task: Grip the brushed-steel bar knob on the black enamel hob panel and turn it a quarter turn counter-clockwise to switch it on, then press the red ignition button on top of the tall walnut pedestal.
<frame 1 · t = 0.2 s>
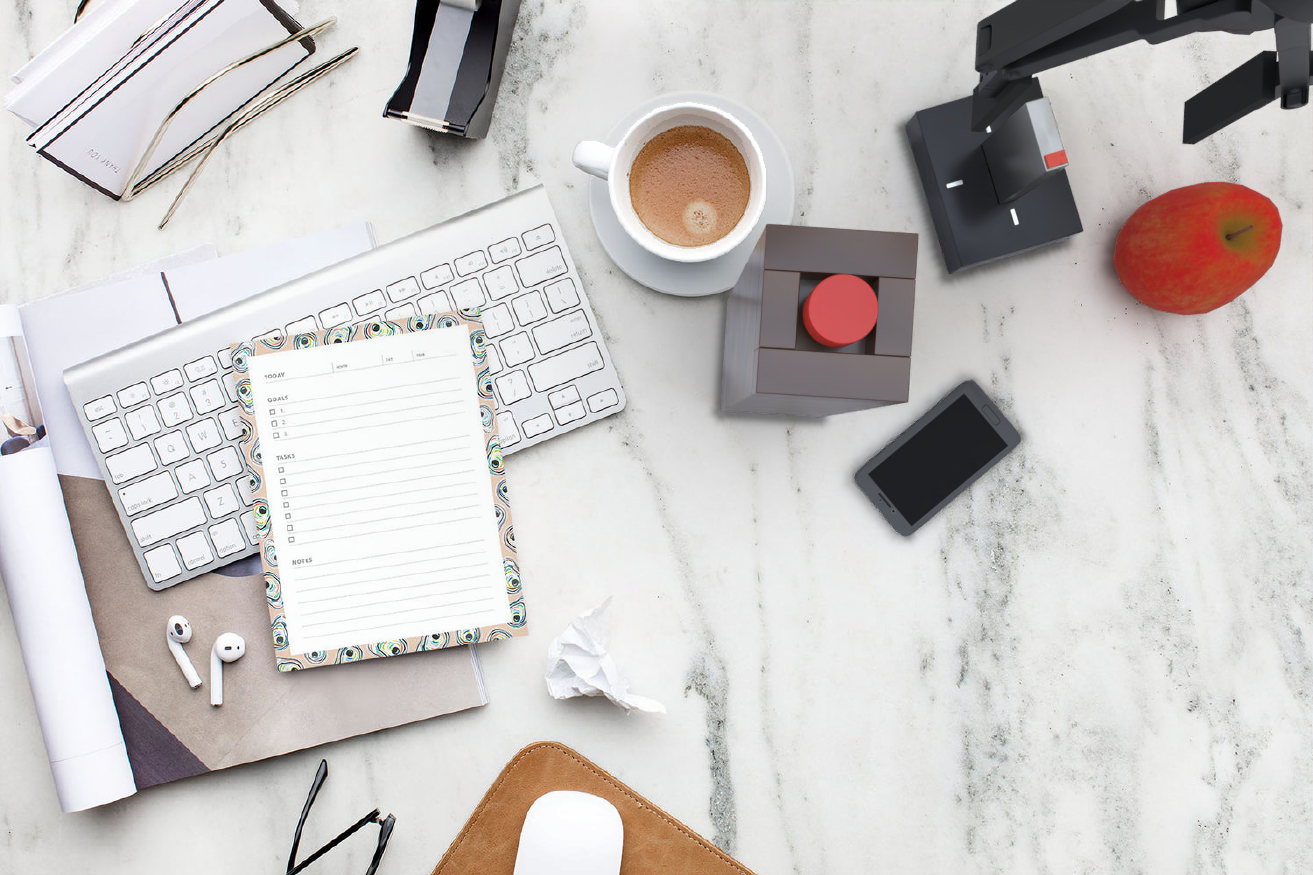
hand: (1083, 117, 50), 20 cm above the table, tool pointing down, fingers open, 13 cm apart
hob panel: (985, 183, 70), on the table
stove knob: (1023, 153, 63), point 7 cm above the table, hinge at 0.0°
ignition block: (773, 358, 70), on the table
ignition button: (839, 311, 45), point 25 cm above the table, slide at 0.3 cm
cell phone: (935, 458, 70), on the table
apple: (1157, 261, 70), on the table
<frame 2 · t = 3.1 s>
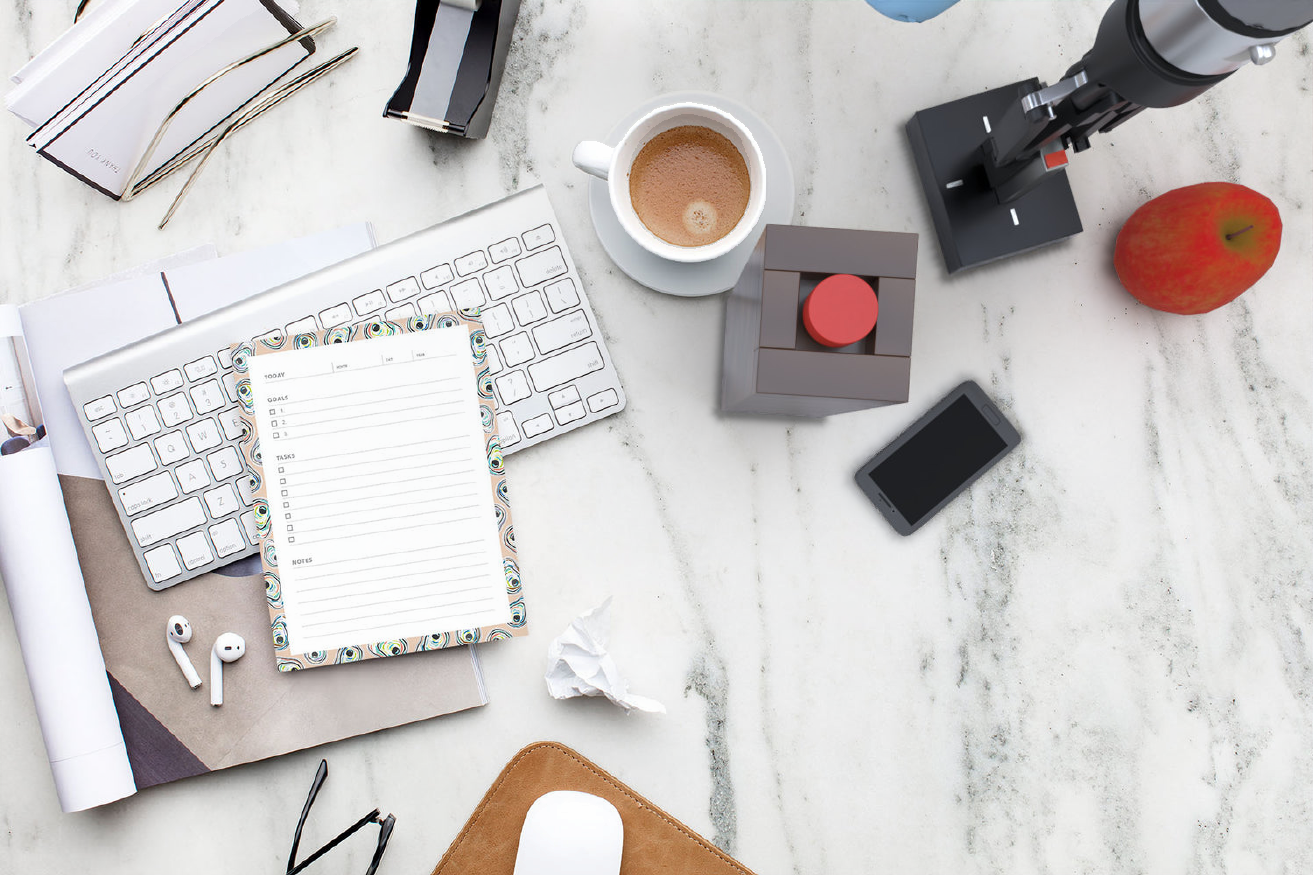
hand: (1005, 167, 66), 4 cm above the table, tool pointing down, fingers closed on stove knob, 2 cm apart
stove knob: (1023, 153, 63), point 7 cm above the table, hinge at 0.3°, touching gripper
everything else where it was.
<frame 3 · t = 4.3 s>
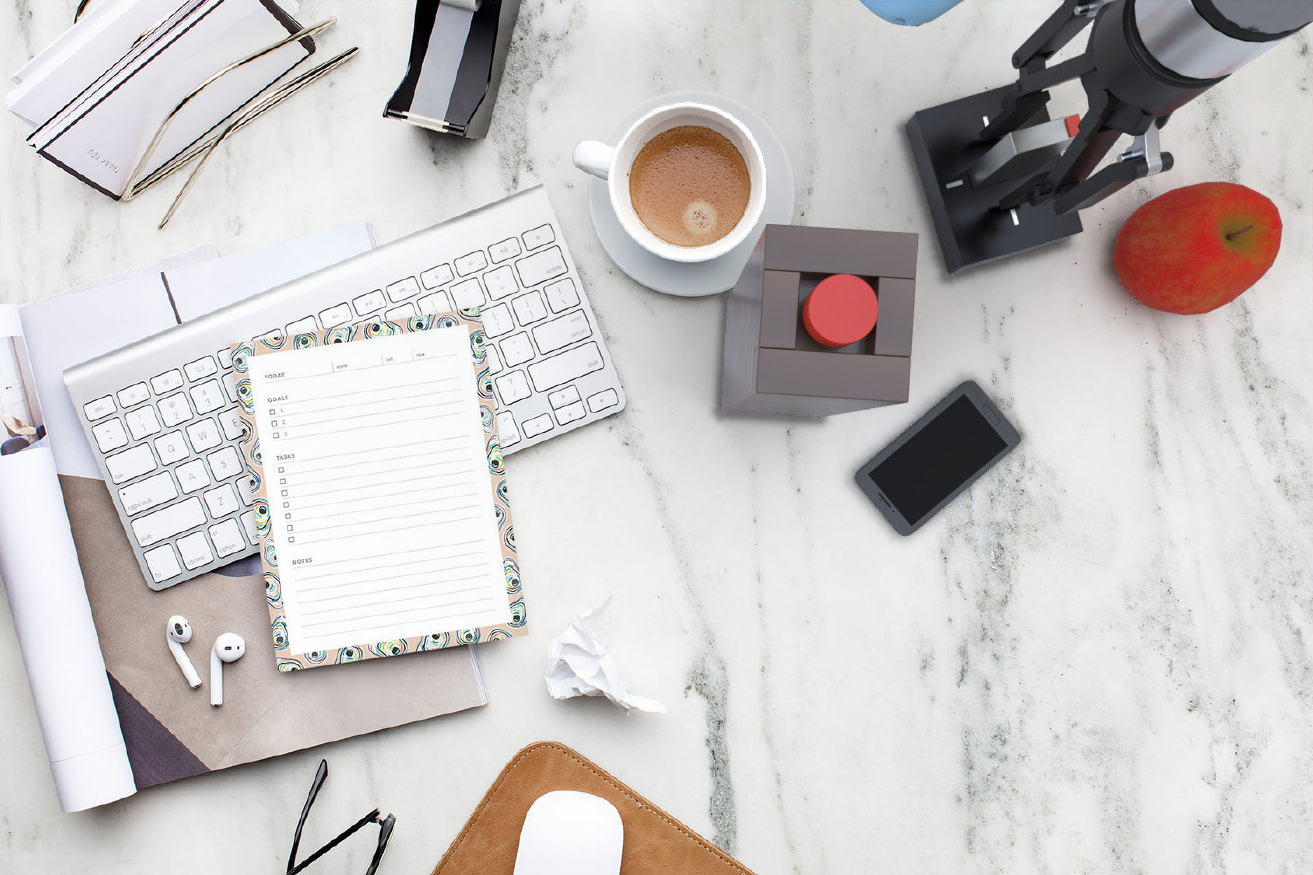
hand: (1005, 167, 66), 4 cm above the table, tool pointing down, fingers open, 5 cm apart
stove knob: (1023, 153, 63), point 7 cm above the table, hinge at 89.3°
everything else where it was.
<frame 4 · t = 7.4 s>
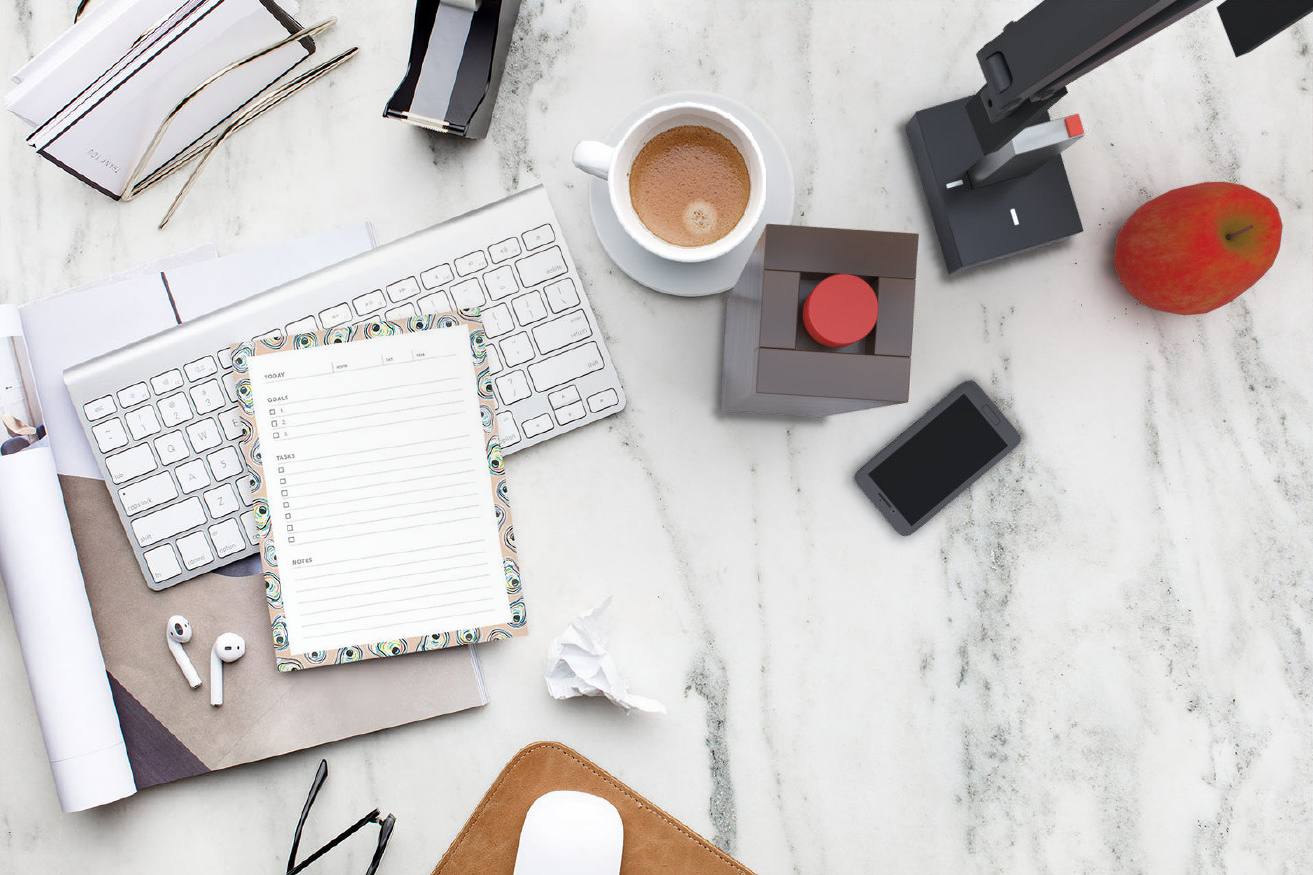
hand: (1106, 79, 39), 31 cm above the table, tool pointing down, fingers open, 13 cm apart
nothing on the table moved.
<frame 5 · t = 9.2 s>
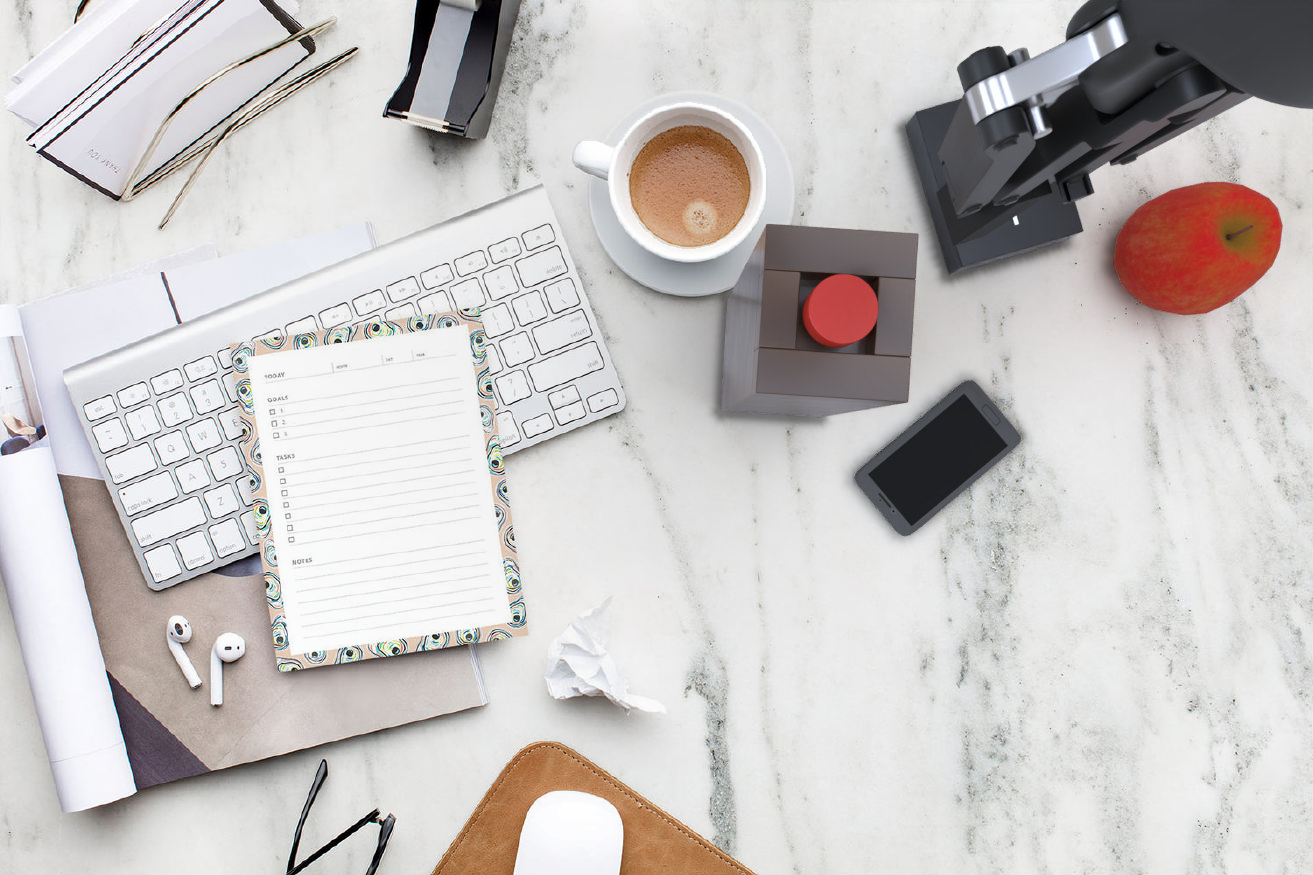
hand: (959, 214, 37), 33 cm above the table, tool pointing down, fingers closed
nothing on the table moved.
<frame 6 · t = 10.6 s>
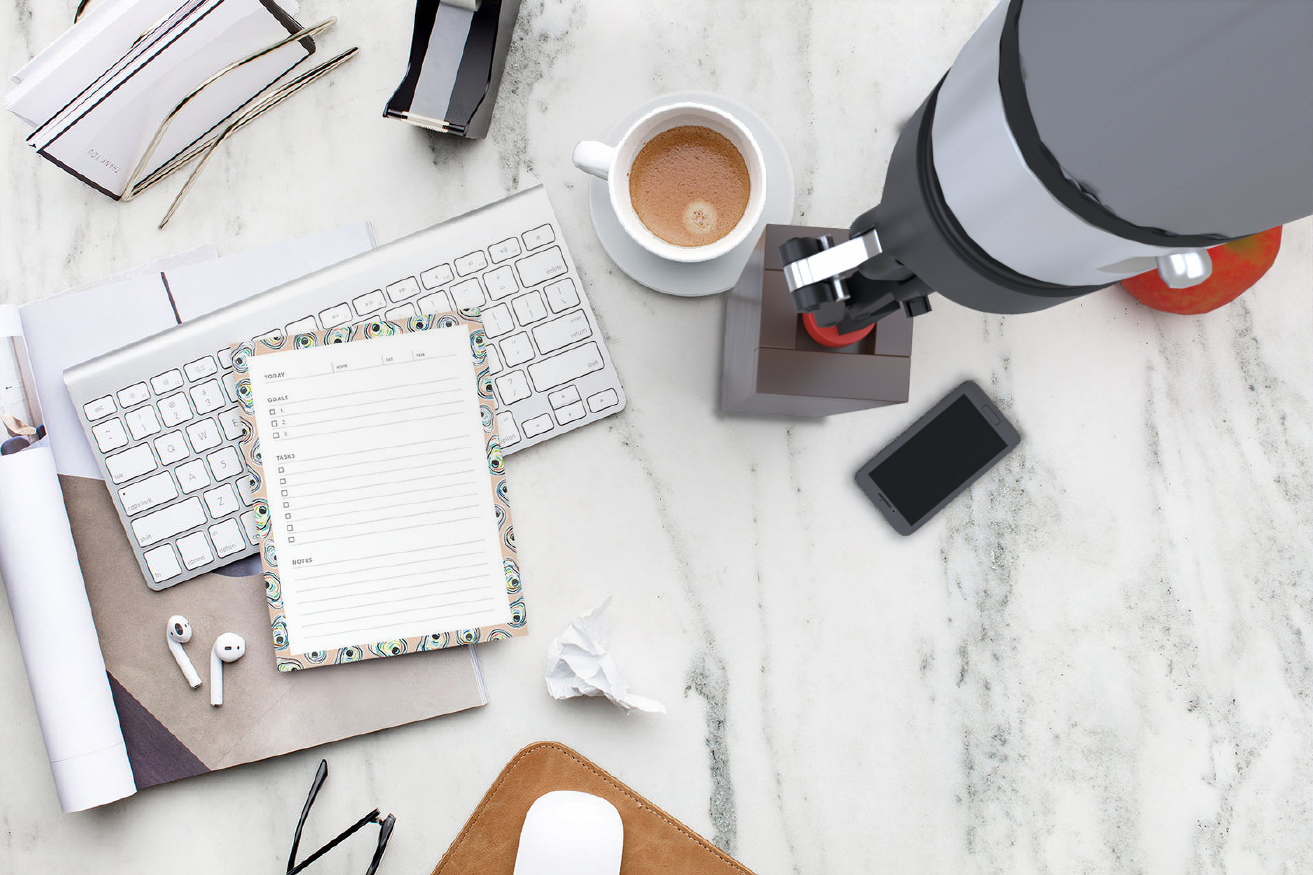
hand: (844, 309, 44), 26 cm above the table, tool pointing down, fingers closed
ignition button: (839, 311, 45), point 25 cm above the table, slide at 0.2 cm, touching gripper
everything else where it was.
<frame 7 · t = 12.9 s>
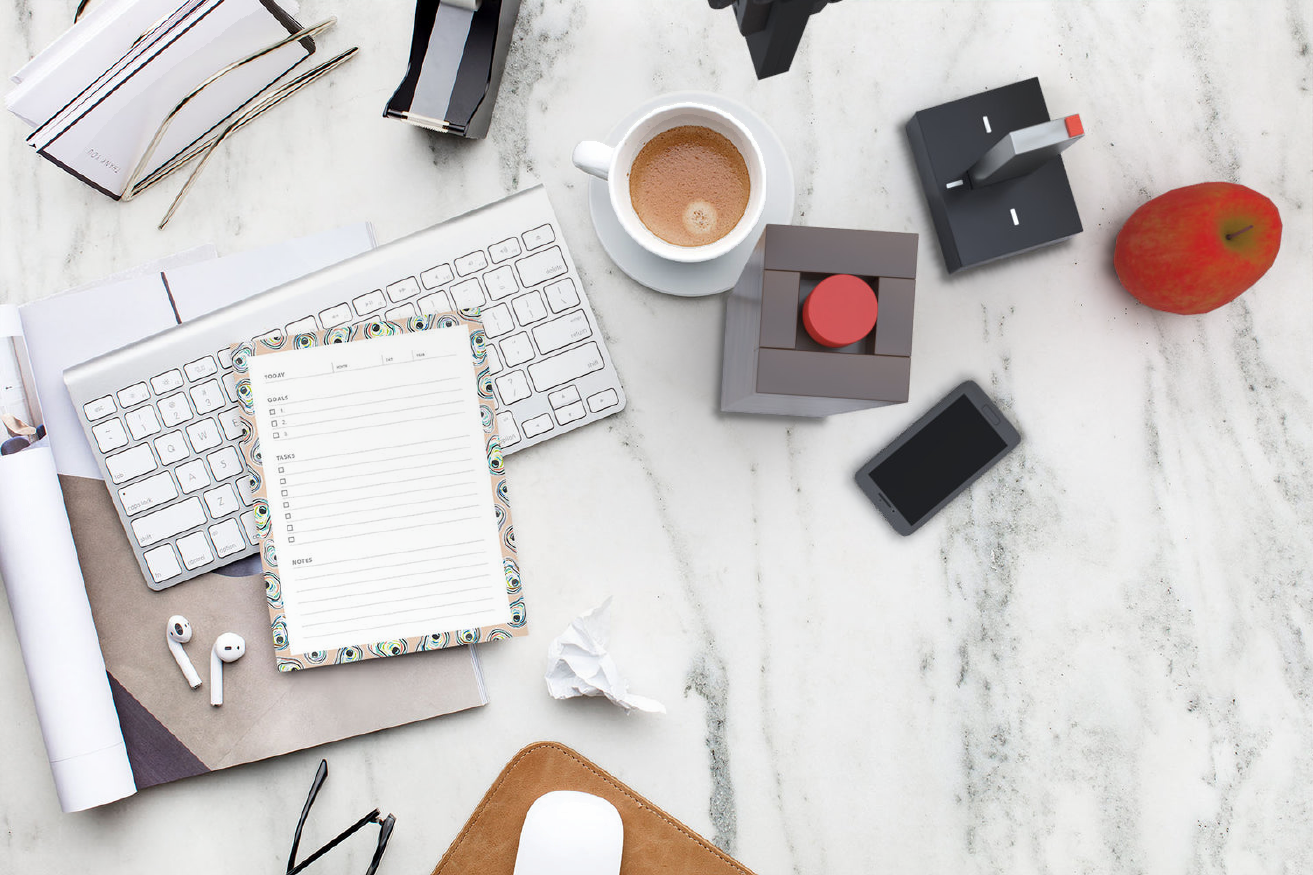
hand: (764, 47, 36), 34 cm above the table, tool pointing down, fingers closed
ignition button: (839, 311, 45), point 24 cm above the table, slide at 0.2 cm
everything else where it was.
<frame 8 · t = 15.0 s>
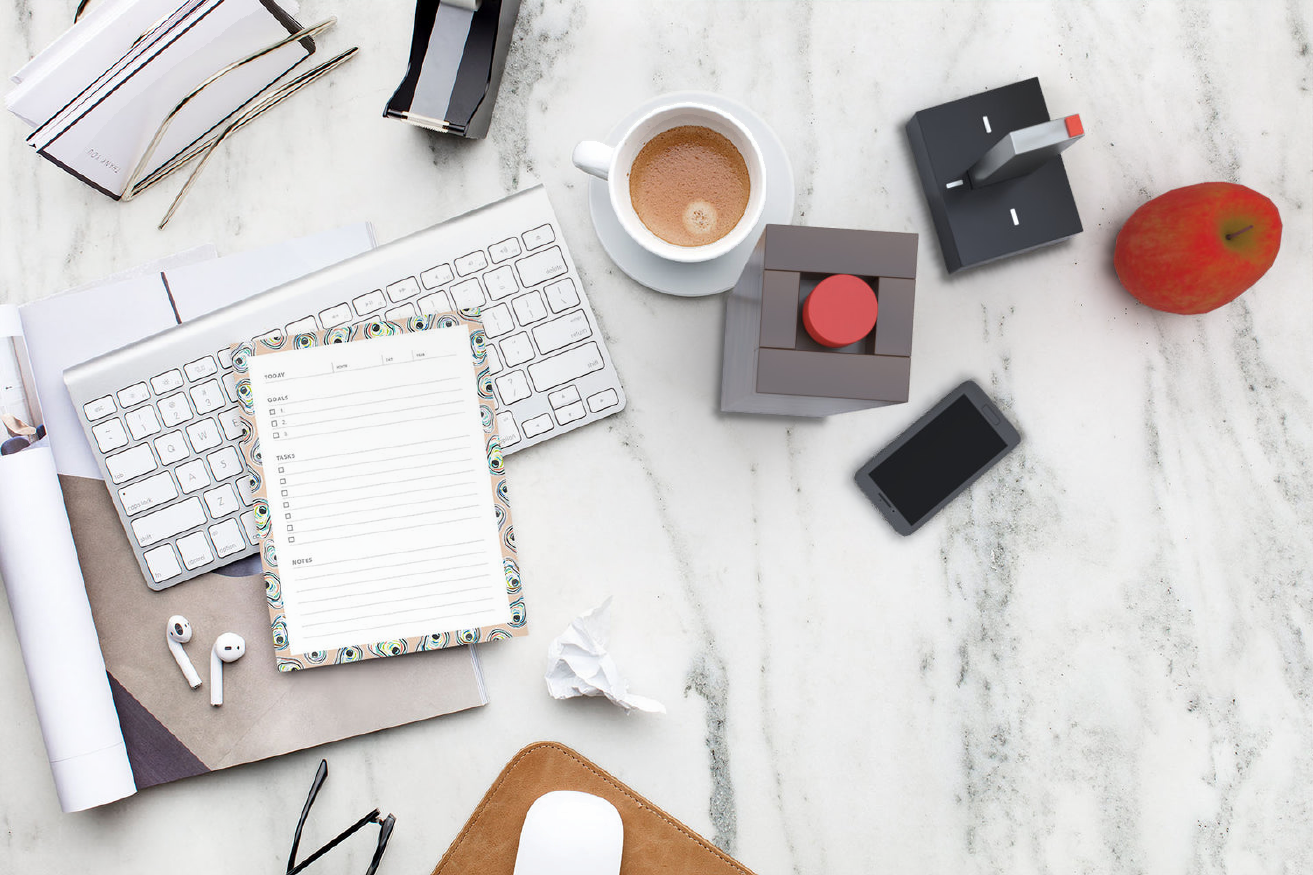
nothing on the table moved.
at the end: stove knob at +89° (first picture: +0°); ignition button pushed in 0.8 cm at the most during the clip, back to 0.2 cm at the end; ignition button slide at 0.2 cm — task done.
